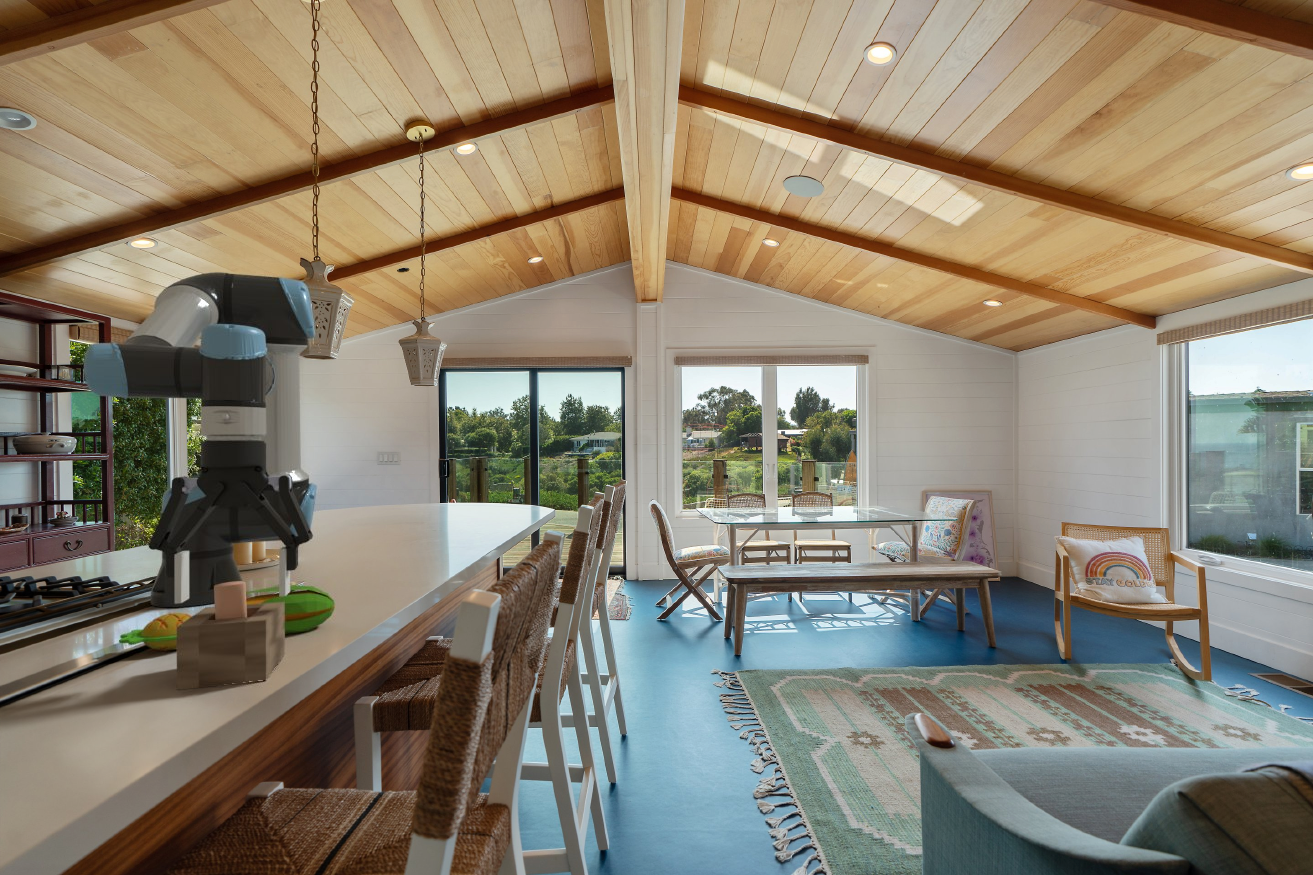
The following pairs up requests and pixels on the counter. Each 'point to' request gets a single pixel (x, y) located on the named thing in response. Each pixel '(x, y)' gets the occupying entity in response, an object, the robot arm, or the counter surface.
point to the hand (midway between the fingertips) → (234, 597)
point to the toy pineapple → (158, 632)
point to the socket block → (230, 646)
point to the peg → (230, 600)
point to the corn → (299, 606)
